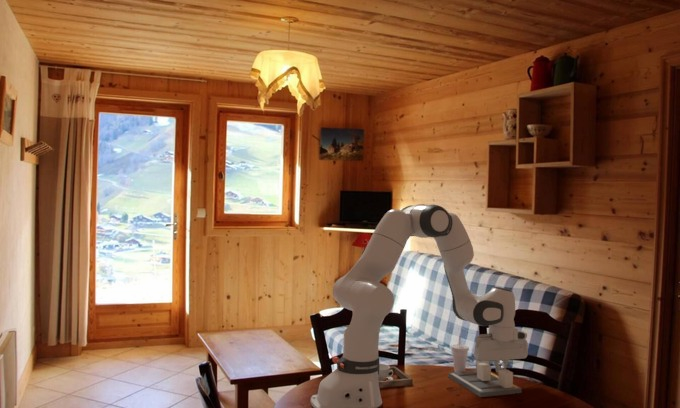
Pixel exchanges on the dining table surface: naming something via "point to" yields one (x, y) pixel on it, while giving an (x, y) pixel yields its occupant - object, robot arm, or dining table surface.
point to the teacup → (384, 372)
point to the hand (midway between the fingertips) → (500, 372)
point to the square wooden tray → (399, 382)
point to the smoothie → (459, 356)
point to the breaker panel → (487, 382)
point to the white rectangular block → (483, 371)
